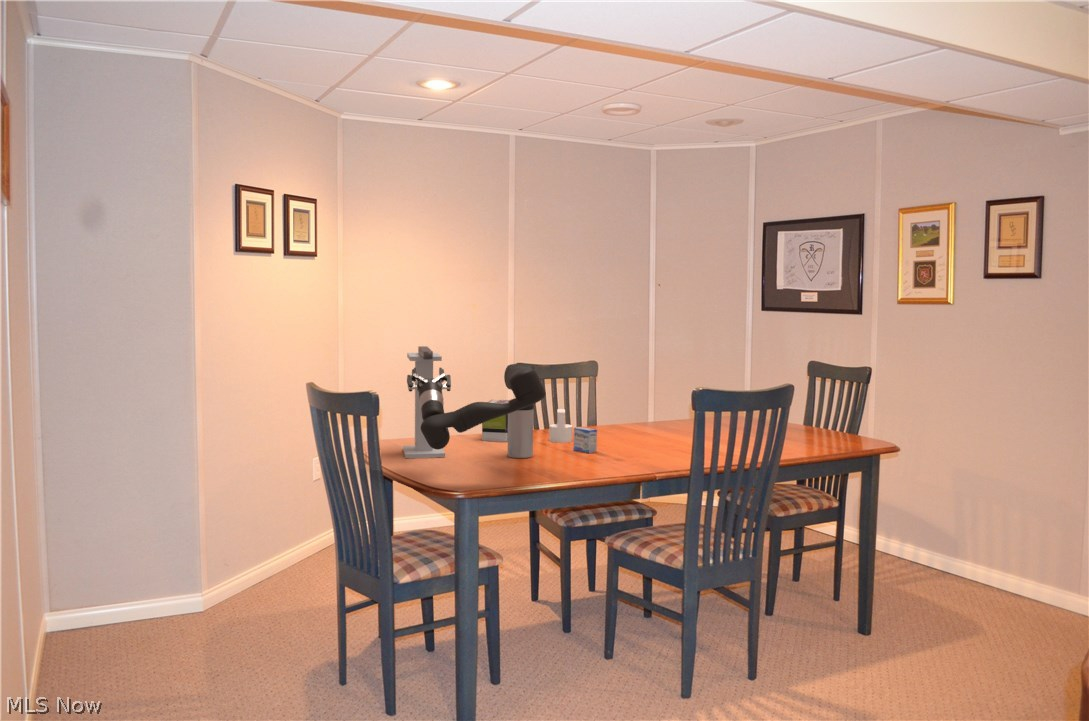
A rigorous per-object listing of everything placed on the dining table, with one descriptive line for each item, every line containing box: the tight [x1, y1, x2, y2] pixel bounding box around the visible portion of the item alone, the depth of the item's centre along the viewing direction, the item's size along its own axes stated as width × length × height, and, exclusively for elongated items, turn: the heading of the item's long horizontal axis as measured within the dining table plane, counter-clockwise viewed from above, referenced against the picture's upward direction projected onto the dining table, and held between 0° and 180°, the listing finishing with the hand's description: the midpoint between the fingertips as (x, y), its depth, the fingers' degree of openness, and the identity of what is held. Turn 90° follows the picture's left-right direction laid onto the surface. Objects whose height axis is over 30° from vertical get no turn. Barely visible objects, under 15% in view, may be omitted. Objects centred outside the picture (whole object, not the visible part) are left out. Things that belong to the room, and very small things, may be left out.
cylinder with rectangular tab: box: [548, 408, 573, 444], centre depth 344 cm, size 9×9×12 cm
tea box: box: [481, 399, 511, 443], centre depth 347 cm, size 15×10×15 cm, turn 168°
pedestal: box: [402, 352, 446, 459], centre depth 313 cm, size 16×14×36 cm
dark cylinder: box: [417, 345, 434, 359], centre depth 306 cm, size 27×3×2 cm, turn 13°
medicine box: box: [573, 426, 598, 454], centre depth 324 cm, size 8×4×9 cm, turn 47°
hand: (427, 369), depth 292 cm, fingers open, 8 cm apart
